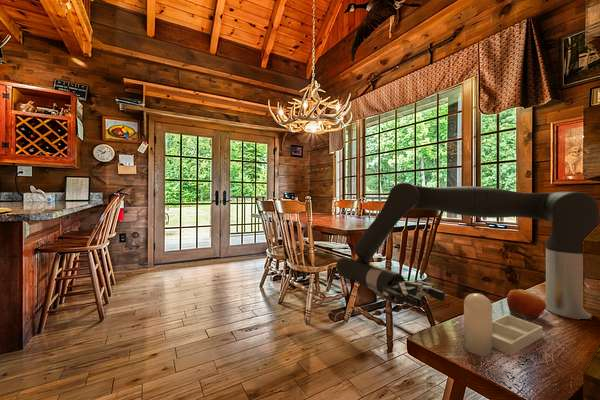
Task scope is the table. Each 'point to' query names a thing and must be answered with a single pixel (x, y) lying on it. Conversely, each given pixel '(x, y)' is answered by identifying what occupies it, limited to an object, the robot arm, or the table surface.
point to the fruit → (525, 304)
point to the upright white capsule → (478, 324)
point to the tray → (514, 334)
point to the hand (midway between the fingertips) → (433, 300)
